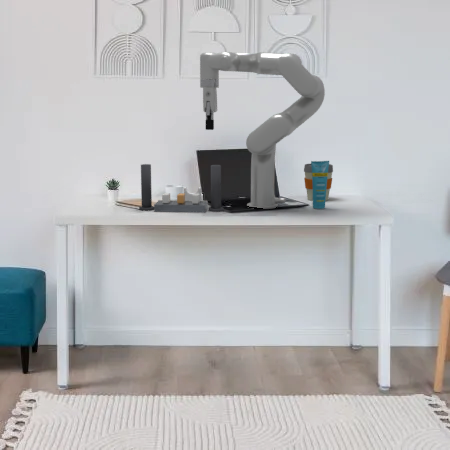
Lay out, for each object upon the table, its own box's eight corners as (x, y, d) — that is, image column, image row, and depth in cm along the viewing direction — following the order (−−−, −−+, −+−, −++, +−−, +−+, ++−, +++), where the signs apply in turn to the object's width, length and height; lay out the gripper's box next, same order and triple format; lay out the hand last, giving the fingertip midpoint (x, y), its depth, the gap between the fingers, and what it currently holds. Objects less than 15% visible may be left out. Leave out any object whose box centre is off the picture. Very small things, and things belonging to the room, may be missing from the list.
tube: (312, 209, 309) (313, 161, 305) (308, 207, 314) (309, 160, 310) (329, 208, 311) (331, 161, 307) (325, 206, 315) (326, 159, 312)
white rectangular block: (170, 201, 311) (170, 193, 310) (168, 203, 306) (168, 195, 305) (164, 201, 311) (164, 193, 310) (162, 203, 306) (162, 195, 305)
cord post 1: (155, 208, 312) (154, 164, 309) (152, 210, 306) (151, 165, 303) (140, 208, 313) (139, 163, 309) (137, 210, 307) (136, 165, 304)
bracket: (200, 206, 319) (200, 188, 317) (183, 206, 319) (183, 188, 318) (203, 201, 332) (203, 183, 330) (187, 201, 332) (187, 183, 331)
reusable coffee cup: (299, 200, 331) (300, 165, 328) (308, 196, 343) (308, 162, 340) (328, 202, 326) (328, 167, 324) (335, 198, 338) (336, 164, 335)
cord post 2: (224, 209, 310) (224, 164, 306) (222, 211, 304) (222, 166, 300) (209, 209, 310) (209, 164, 307) (207, 211, 304) (207, 166, 301)
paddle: (199, 201, 309) (199, 193, 309) (198, 203, 305) (198, 195, 304) (193, 201, 310) (193, 193, 309) (192, 203, 305) (192, 195, 304)
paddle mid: (185, 201, 310) (184, 193, 309) (183, 203, 305) (183, 195, 305) (179, 201, 310) (179, 193, 310) (177, 203, 305) (177, 195, 305)
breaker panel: (207, 208, 312) (207, 200, 312) (204, 212, 302) (204, 204, 302) (158, 207, 314) (158, 199, 314) (154, 211, 304) (154, 203, 304)
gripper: (216, 84, 304) (216, 130, 308) (220, 83, 319) (220, 128, 322) (197, 84, 305) (198, 130, 308) (202, 83, 319) (202, 128, 323)
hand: (209, 129), depth 315 cm, fingers closed
